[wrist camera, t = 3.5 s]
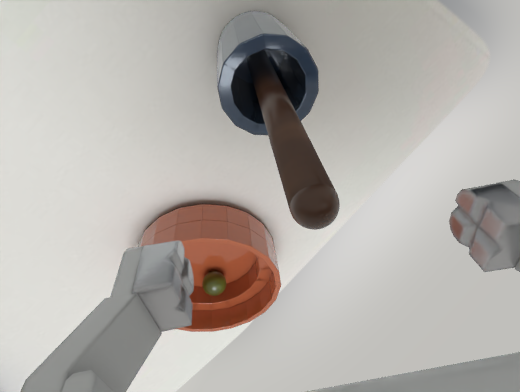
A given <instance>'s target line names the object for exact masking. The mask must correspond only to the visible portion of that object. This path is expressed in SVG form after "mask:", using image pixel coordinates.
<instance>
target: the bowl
mask: <svg viewBox="0 0 520 392" xmlns="http://www.w3.org/2000/svg"><path fill="white" fill-rule="evenodd" d="M178 240H179V241H181V242H182V244H183V246H184V248H185V254H184V257H186V258H187V259H189V260H190V263H191V266H192V270H193V276H194V291H193V292H192V294H191V295H190V296H189V297H190V299H191V301H192V303H193V310H192V325H191V326H186V327H181V328H177V329H179V330H185V331H192V332H200V331H218V330H224V329H229V328H233V327H236V326H239V325H242V324H244V323H247V322H250V321H252V320H253V319H255V318H256V317H258V316H259V315H261V314H262V313H264V312H265V311H266V310H267V309H268V308H269V307H270V306H271V305H272V304H273V302H274V301H275V300H276V298H277V295H278V293H279V290H280V287H281V282H280V275H279V269H278V264H277V259H276V254H275V249H274V244H273V239H272V237H271V235H270V234H269V232H268V231H267V229H266V228H265V226H264V225H263V223H261V222H260V221H258V220H257V219H256V218H254V217H253V216H251V215H250V214H249V213H247V212H244V211H241V210H238V209H235V208H232V207H229V206H223V205H209V204H200V205H194V206H188V207H182V208H178V209H176V210H174V211H171V212H169V213H167V214H165V215H163V216H161V217H159V218H158V219H157V220H156V221H155V222H154V223H152V224H151V225H150V226H149V227H148V228H147V229H146V230H145V231H144V233H143V236H142V238H141V240H140V243H139V245H138V247H142V246H146V245H152V244H159V243H165V242H172V241H178ZM212 271H218V272H220V273H222V274H223V275H224V276H225V278H226V288H225V290H224V291H223V292H222V293H221V294H219V295H217V296H211V295H209V294H207V293H206V292H205V291H204V289H203V286H202V282H203V279H204V277H205V275H206V274H208V273H209V272H212Z"/></svg>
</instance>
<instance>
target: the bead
mask: <svg viewBox="0 0 520 392" xmlns="http://www.w3.org/2000/svg"><path fill="white" fill-rule="evenodd" d="M202 286H203V289H204V291H205V292H206V293H207V294H209V295H211V296H217V295H219V294H221V293H222V292H223V291H224V290H225V288H226V278H225V276H224V275H223V274H222V273H220V272H218V271H212V272H209V273H208V274H206V275H205V277H204V279H203V282H202Z"/></svg>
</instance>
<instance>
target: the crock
mask: <svg viewBox="0 0 520 392" xmlns="http://www.w3.org/2000/svg"><path fill="white" fill-rule="evenodd" d="M261 50H265V52H266V54H267V56H268V58H269V60H270V62H271V64H272V66H273V68H274V70H275V72H276V74H277V76H278V78H279V80H280V82H281V84H282V86H283V88H284V90H285V92H286V94H287V96H288V98H289V100H290V101H291V103H292V105H293V107H294V109H295V111H296V113H297V115H298V117H299V119H300V121H301V120H302V119H303V118H304V117H305V116H306V115H307V114H309V112H310V110H311V108H312V106H313V104H314V101H315V99H316V97H317V94H318V69H317V66H316V64H315V62H314V60H313V58H312V57H311V55H310V53H309V51H308V49H307V48H306V47H305V46H304V45H303V44H302V43H301V42H300V41H299V40H298V39H297V38H296V36H295V35H294V34H293V33H292V32H291V31H290V30H289V29H288V28H287V27H286V26H285V25H284V24H283V23H282V22H280V21H279V20H278V19H277V18H275V17H274V16H272V15H270V14H268V13H266V12H262V11H248V12H244V13H242V14H239V15H238V16H236V17H234V18H233V19H232V20H231V21H230V22H229V23H228V24H227V25H226V27H225V28H224V30H223V32H222V34H221V36H220V39H219V44H218V50H217V87H218V92H219V97H220V101H221V106H222V109H223V110H224V112H225V113H226V114H227V115H228V117H229V118H230V119H231V121H232V122H233V123H234V124H235V125H236V126H237V127H239V128H241V129H243V130H245V131H247V132H250V133H252V134H254V135H268V132H267V129H266V125H265V122H264V118H263V115H262V111H261V108H260V104H259V101H258V97H257V94H256V91H255V87H254V84H253V80H252V77H251V73H250V70H249V66H248V63H247V57H248V56H250V55H252V54H254V53H257V52H259V51H261Z"/></svg>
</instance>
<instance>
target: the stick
mask: <svg viewBox="0 0 520 392" xmlns="http://www.w3.org/2000/svg"><path fill="white" fill-rule="evenodd" d="M247 63H248V66H249V70H250V73H251V77H252V80H253V84H254V87H255V91H256V94H257V97H258V101H259V104H260V108H261V111H262V115H263V118H264V122H265V125H266V129H267V132H268V136H269V139H270V143H271V146H272V150H273V153H274V157H275V160H276V163H277V167H278V170H279V174H280V177H281V181H282V184H283V188H284V191H285V195H286V198H287V202H288V205H289V209H290V212H291V214H292V216H293V218H294V219H295V221H296V222H297V223H298V224H300V225H301V226H303V227H305V228H308V229H321V228H324V227H326V226H328V225H329V224H331V223H332V222H333V221H334V219H335V218H336V217H337V214H338V211H339V198H338V195H337V193H336V191H335V189H334V187H333V185H332V183H331V181H330V179H329V177H328V175H327V173H326V171H325V169H324V167H323V165H322V163H321V161H320V159H319V157H318V155H317V153H316V151H315V149H314V147H313V145H312V143H311V141H310V139H309V137H308V135H307V133H306V131H305V129H304V127H303V125H302V123H301V121H300V119H299V117H298V115H297V113H296V111H295V109H294V107H293V105H292V103H291V101H290V100H289V98H288V96H287V94H286V92H285V90H284V88H283V86H282V84H281V82H280V80H279V78H278V76H277V74H276V72H275V70H274V68H273V66H272V64H271V62H270V60H269V58H268V56H267V54H266V52H265V50H261V51H259V52H257V53H254V54H252V55H250V56H248V57H247Z"/></svg>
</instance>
